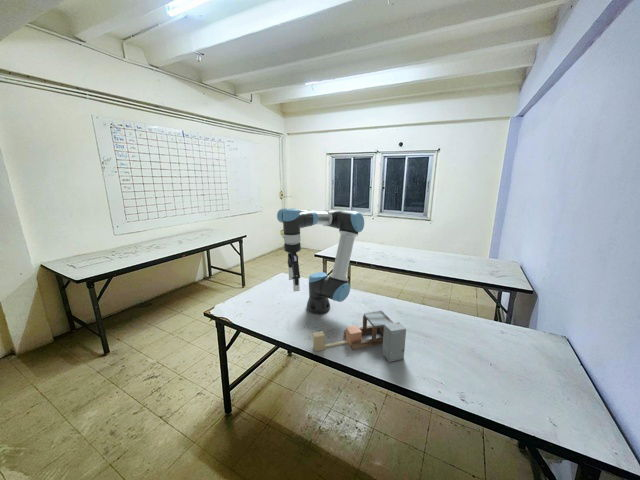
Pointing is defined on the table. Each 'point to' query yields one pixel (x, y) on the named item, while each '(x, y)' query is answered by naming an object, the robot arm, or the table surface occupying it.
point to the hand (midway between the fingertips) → (294, 285)
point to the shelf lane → (372, 329)
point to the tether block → (351, 336)
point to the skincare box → (394, 341)
